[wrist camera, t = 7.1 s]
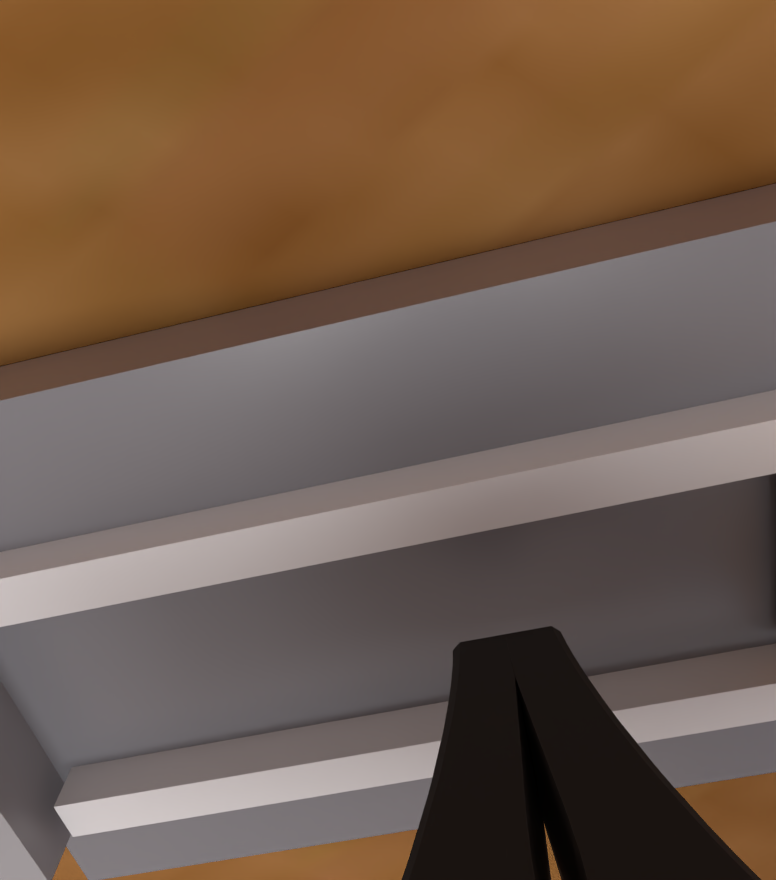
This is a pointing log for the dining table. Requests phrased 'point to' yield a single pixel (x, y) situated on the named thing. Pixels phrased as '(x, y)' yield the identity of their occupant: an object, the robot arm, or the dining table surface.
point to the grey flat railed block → (385, 537)
